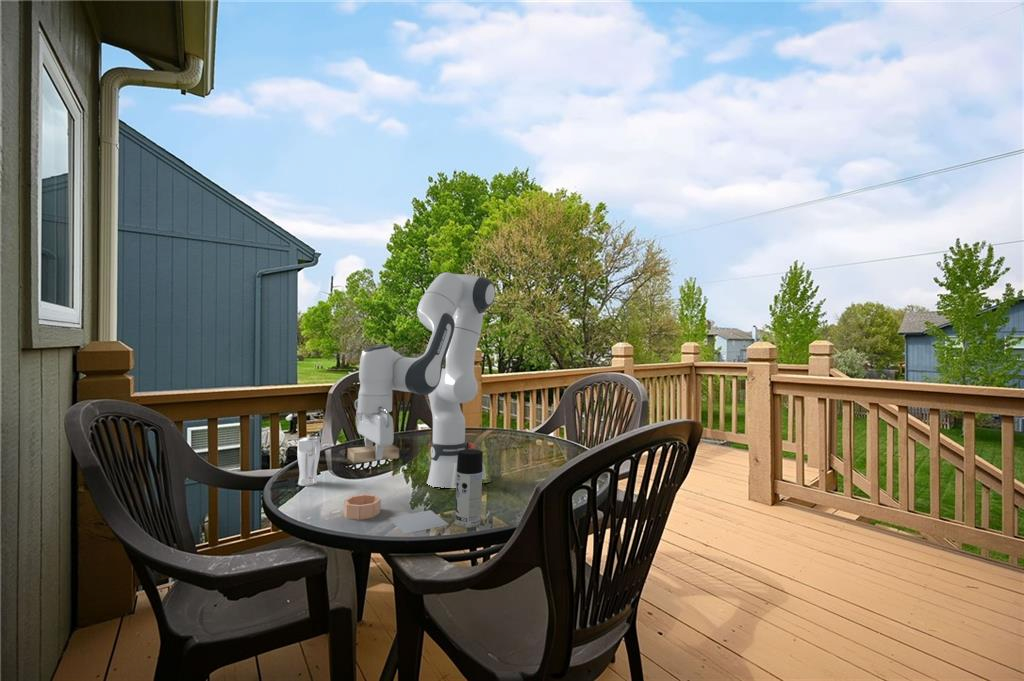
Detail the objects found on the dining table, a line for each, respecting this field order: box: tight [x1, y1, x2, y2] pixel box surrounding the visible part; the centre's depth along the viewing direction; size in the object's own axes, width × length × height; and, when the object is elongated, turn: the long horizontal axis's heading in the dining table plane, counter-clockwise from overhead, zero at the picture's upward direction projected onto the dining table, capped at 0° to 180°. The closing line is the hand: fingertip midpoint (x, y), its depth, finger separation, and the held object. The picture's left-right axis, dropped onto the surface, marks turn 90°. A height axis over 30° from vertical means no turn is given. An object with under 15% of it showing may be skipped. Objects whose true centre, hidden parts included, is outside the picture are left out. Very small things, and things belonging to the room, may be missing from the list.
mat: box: [388, 509, 450, 535], centre depth 123 cm, size 12×12×2 cm
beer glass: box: [296, 436, 321, 487], centre depth 158 cm, size 7×7×15 cm
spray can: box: [454, 448, 484, 528], centre depth 123 cm, size 7×7×20 cm
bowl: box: [342, 493, 382, 521], centre depth 128 cm, size 9×9×5 cm
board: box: [347, 444, 400, 464], centre depth 127 cm, size 12×6×3 cm, turn 124°
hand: (373, 456), depth 127 cm, fingers closed on board, 6 cm apart
